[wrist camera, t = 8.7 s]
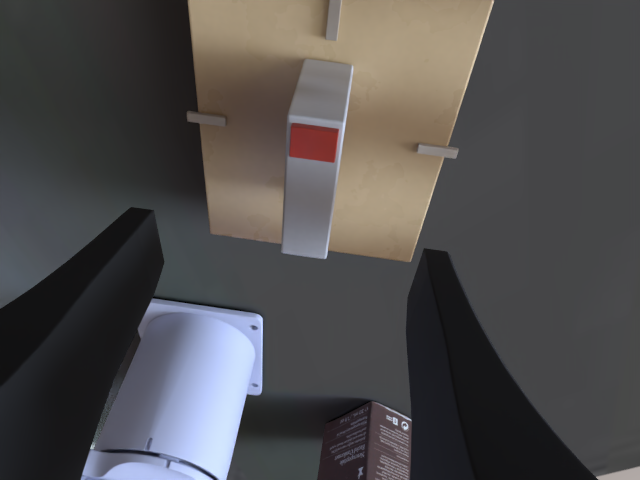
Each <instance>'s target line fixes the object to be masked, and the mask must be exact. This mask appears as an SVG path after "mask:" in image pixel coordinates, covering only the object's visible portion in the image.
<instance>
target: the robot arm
mask: <svg viewBox="0 0 640 480" xmlns="http://www.w3.org/2000/svg"><path fill="white" fill-rule="evenodd" d="M163 265H164V258H163V253H162V248H161V244H160V239H159V234H158V229H157V224H156V219H155V214H154V210H148V209H141V208H134V207H131V208H129V209H128V210H127V211H126V212H125V213H123V214H122V215H121V216H120V217H119V218H118V219H116V220H115V221H114V222H113V223H112V224H111V225H110V226H108V227H107V228H106V229H105V230H104V231H103V232H102V233H100V234H99V235H98V236H97V237H96V238H95V239H94V240H92V241H91V242H90V243H89V244H88V245H86V246H85V247H84V248H83V249H82V250H80V251H79V252H78V253H77V254H76V255H74V256H73V257H72V258H71V259H70V260H68V261H67V262H66V263H65V264H63V265H62V266H61V267H59V268H58V269H57V270H55V271H54V272H53V273H51V274H50V275H49V276H47V277H46V278H45V279H44V280H42V281H41V282H40V283H38V284H37V285H35V286H34V287H33V288H31V289H30V290H28V291H27V292H25V293H24V294H23V295H21V296H20V297H18V298H17V299H15V300H14V301H12V302H10V303H9V304H7V305H6V306H4V307H3V308H1V309H0V480H226V478H227V474H228V470H229V467H230V463H231V459H232V454H233V450H234V446H235V442H236V437H237V433H238V429H239V425H240V420H241V416H242V412H243V408H244V404H245V399H246V395H247V394H250V395H259V394H261V392H262V348H263V319H262V317H261V316H260V315H259V314H256V313H251V312H244V311H237V310H230V309H223V308H216V307H209V306H202V305H196V304H189V303H182V302H175V301H168V300H161V299H154V298H153V296H154V293H155V290H156V287H157V284H158V281H159V278H160V275H161V271H162V268H163ZM137 329H138V332H139V335H140V338H141V341H140V344H139V346H138V348H137V350H136V353H135V355H134V357H133V360H132V362H131V364H130V367H129V369H128V371H127V373H126V376H125V378H124V380H123V383H122V385H121V387H120V390H119V392H118V394H117V396H116V399H115V401H114V403H113V406H112V408H111V410H110V413H109V415H108V417H107V419H106V422H105V424H104V426H103V429H102V431H101V433H100V436H99V438H98V440H97V442H96V445H95V447H94V449H93V450H92V449H91V450H90V447H91V444H92V441H93V438H94V435H95V432H96V429H97V426H98V423H99V420H100V417H101V414H102V411H103V409H104V406H105V403H106V400H107V397H108V395H109V392H110V389H111V386H112V384H113V381H114V378H115V376H116V374H117V371H118V369H119V367H120V364H121V362H122V360H123V358H124V356H125V354H126V352H127V350H128V348H129V346H130V344H131V342H132V340H133V338H134V336H135V333H136V331H137ZM406 340H407V355H408V369H409V383H410V397H411V417H412V432H411V464H410V480H598V479H597V478H596V477H595V476H594V475H593V474H592V473H591V472H590V471H589V470H588V469H587V468H586V467H585V466H584V465H583V464H582V463H581V461H580V460H579V459H578V458H577V457H576V456H575V455H574V454H573V453H572V451H571V450H570V449H569V448H568V447H567V446H566V445H565V444H564V443H563V441H562V440H561V439H560V438H559V436H558V435H557V434H556V433H555V432H554V430H553V429H552V428H551V427H550V425H549V424H548V423H547V422H546V420H545V419H544V418H543V417H542V416H541V414H540V413H539V412H538V411H537V409H536V408H535V407H534V406H533V404H532V403H531V401H530V400H529V399H528V397H527V396H526V395H525V393H524V392H523V391H522V389H521V388H520V386H519V385H518V383H517V382H516V381H515V379H514V378H513V376H512V375H511V373H510V372H509V370H508V369H507V367H506V366H505V364H504V362H503V361H502V359H501V358H500V356H499V354H498V353H497V351H496V349H495V348H494V346H493V344H492V342H491V341H490V339H489V337H488V335H487V334H486V332H485V330H484V328H483V326H482V324H481V322H480V320H479V319H478V317H477V315H476V313H475V311H474V309H473V307H472V305H471V303H470V301H469V299H468V296H467V294H466V292H465V290H464V288H463V285H462V283H461V281H460V279H459V276H458V274H457V271H456V269H455V266H454V264H453V261H452V259H451V256H450V254H449V253H448V252H446V251H439V250H432V249H425V248H424V250H423V253H422V256H421V259H420V262H419V265H418V268H417V271H416V274H415V277H414V280H413V283H412V286H411V289H410V292H409V295H408V302H407V321H406Z"/></svg>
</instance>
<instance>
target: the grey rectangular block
mask: <svg viewBox="0 0 640 480" xmlns="http://www.w3.org/2000/svg"><path fill="white" fill-rule="evenodd" d="M353 69H354V67H353V65H349V64H342V63H334V62H327V61H320V60H312V59H305V60H304V62H303V66H302V69H301V72H300V75H299V79H298V82H297V85H296V89H295V92H294V95H293V98H292V102H291V105H290V108H289V112H288V115H287V131H286V153H285V176H284V198H283V220H282V242H281V252H282V253H284V254H291V255H298V256H305V257H312V258H319V259H326V257H327V252H328V245H329V238H330V231H331V224H332V217H333V210H334V203H335V196H336V189H337V182H338V175H339V168H340V161H341V154H342V147H343V140H344V133H345V126H346V118H347V111H348V104H349V97H350V90H351V83H352V76H353Z"/></svg>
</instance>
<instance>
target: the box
mask: <svg viewBox="0 0 640 480" xmlns="http://www.w3.org/2000/svg"><path fill="white" fill-rule="evenodd" d="M411 432H412V420H411V419H409V418H408V417H407V416H406V415H403V414H401V413H399V412H397V411H396V410H393V409H390V408H388V407H387V406H383V405H381V404H379V403H377V402H374V401H371V402H369V403H367V404H365V405H363V406H361V407H359V408H358V409H356V410H354V411H352V412H350V413H348V414H346V415H344V416H342V417H340V418H338V419H336V420H334V421H331V422H329V423H326V424H325V430H324V437H323V444H322V451H321V458H320V465H319V472H318V479H317V480H410V464H411Z"/></svg>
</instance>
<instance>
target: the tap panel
mask: <svg viewBox="0 0 640 480" xmlns="http://www.w3.org/2000/svg"><path fill="white" fill-rule="evenodd" d="M187 1H188V11H189V21H190V32H191V42H192V52H193V62H194V73H195V83H196V93H197V104H198V112H193V111H187V121H188V122H195V123H199V124H200V134H201V145H202V155H203V165H204V176H205V186H206V196H207V206H208V217H209V227H210V233H211V234H215V235H222V236H229V237H236V238H243V239H250V240H257V241H264V242H271V243H278V244H281V242H282V220H283V198H284V176H285V153H286V131H287V115H288V112H289V108H290V105H291V102H292V98H293V95H294V92H295V89H296V85H297V82H298V79H299V75H300V72H301V69H302V66H303V62H304V60H305V59H312V60H320V61H327V62H334V63H342V64H349V65H353V67H354V69H353V76H352V83H351V90H350V97H349V104H348V111H347V118H346V126H345V133H344V140H343V147H342V154H341V161H340V168H339V175H338V182H337V189H336V196H335V203H334V210H333V217H332V224H331V231H330V238H329V245H328V251H334V252H341V253H348V254H355V255H362V256H369V257H376V258H383V259H390V260H397V261H404V262H410V261H411V259H412V256H413V253H414V250H415V247H416V244H417V241H418V238H419V234H420V231H421V228H422V225H423V222H424V219H425V216H426V213H427V209H428V206H429V203H430V200H431V197H432V194H433V191H434V188H435V184H436V181H437V178H438V175H439V172H440V169H441V166H442V163H443V159H444V157H448V158H456V156H457V153H458V148H454V147H448V144H449V141H450V138H451V134H452V131H453V128H454V125H455V122H456V119H457V116H458V112H459V109H460V106H461V103H462V100H463V97H464V94H465V91H466V87H467V84H468V81H469V78H470V75H471V72H472V69H473V66H474V62H475V59H476V56H477V53H478V50H479V47H480V44H481V41H482V37H483V34H484V31H485V28H486V25H487V22H488V19H489V16H490V12H491V9H492V6H493V3H494V0H187Z"/></svg>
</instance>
